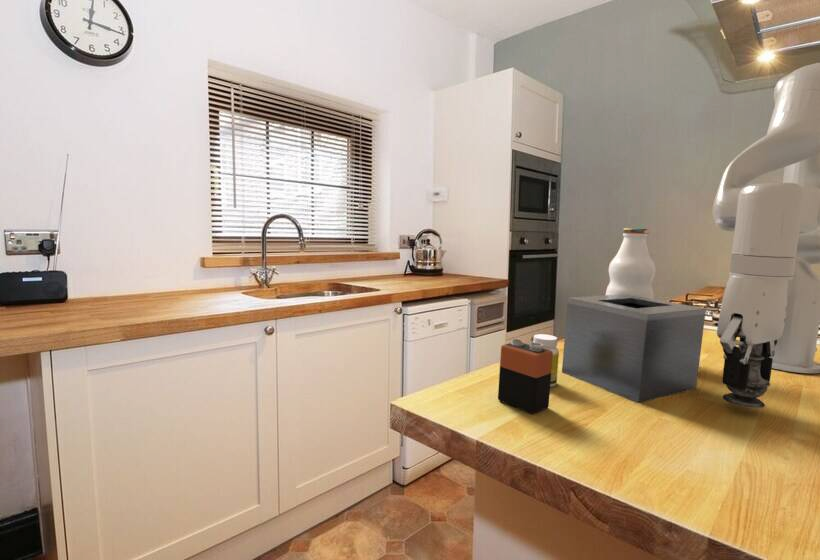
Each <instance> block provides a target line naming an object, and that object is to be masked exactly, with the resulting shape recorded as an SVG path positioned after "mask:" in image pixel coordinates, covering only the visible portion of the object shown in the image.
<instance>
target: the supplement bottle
mask: <svg viewBox="0 0 820 560" xmlns="http://www.w3.org/2000/svg"><path fill="white" fill-rule="evenodd" d="M532 342H534V343H541V344H542V345H544V349H548V350H551V351H552V352H553V357H552V369H551V382H550V388H552V387H555V386H556V385H557V383H558V382H557V381H558V369H559V367H558V366H559V355H560V353H559V349H558V348H557V346H558V337H556V336H554V335H552V334H551V335H550V334H547V333H546V334H542V333H541V334H540V333H539V334H534V335H533V341H532Z"/></svg>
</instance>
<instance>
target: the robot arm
mask: <svg viewBox="0 0 820 560" xmlns="http://www.w3.org/2000/svg"><path fill="white" fill-rule="evenodd" d="M773 101H774V108H773V111H772V114H771V118H770V120H769V121H770V122H769V124H768V125H769V126H768V128H767V133H766V135H764V136H762V137H761V138H759V139H758V140H756V141H755V142H753V143H752V144H750V145H749V146H748V147H747V148H745V149H743V150H742V151H741V153H739V154H738V155H737V156H735V158H734V159H733V160H732V161H731V162H730V163H729V164H728V166H727V167H726V169H725V170H724V172H723V174H722V176H721V179H720V181H719V184H718V188H717V191H716V195H715V197H714V201H713V205H712V220H713V223H714V224H715V226H716V227H717V228H718V229H719V230H720V229H721V230H722V231H725V232H730V233H731V232H733V233H734V234H733V240H732V250H731V255H730V264H729V272H728V275H729V276H728V277H729V278H728V280H727V282H726V285H725V288H724V292H723V296H722V301H721V307H720V309H719V311H720V312H719V318H718V323H717V330H716V335H717V337H718V338H719V343H720V345H721V347H722V350H723V353H724V354H723V359H724V364H723V371H722V379H721V382H722V384H723V385H725V386H726V385H728V386H732V387H735V388H738V389H741V390H745V389H747V386H748V378H749V371H750V364H748V363H747V362H748V359H749V356H750V353H751V349H752V346H753V345H757V344H761V343H763V347H762V354H761V355H762V356H763V357H764V359H763V360H761V367H760V374H761V377H762V378H763V379H765V380H767V381H768V382H770V383H771V374H772V370H773V369H775V370H777V371H778V370H779V371H784V372H790V373H798V374H811V375H812V374H820V362H817V361H815V356H816V352H818V347H817V344H818V343H817V342H818V338H819V337H818V336H819V330H820V275H819V274H818V272H817V271H815V270H814V269H813V267H812V265H820V62H816V63H812V64H807V65H805V66H802V67H801V66H800V67H799V68H797V69H795V70H793V71H792V72H790V73H789V74H787V75H785V76H783V77H781V79H778V81H777V82H776V84H775V87H774V91H773ZM782 168H784V171H783V172H784V173H783V178H782V182H763V183H762V182H759V183H752V184H749V183H751V182H752V181H754V180H755V179H757V178H759V177H761V176H763V175H766V174H768V173H771V172H774V171H777V170H779V169H782ZM748 184H749V185H748ZM737 338H739V339H740V338H744V339H746V340H745V341H746V342H743V341H740V340H738V339H737ZM739 346H743V347H744V348H743V351H742V352H741V350H740V348H739Z"/></svg>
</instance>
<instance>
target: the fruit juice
mask: <svg viewBox="0 0 820 560" xmlns="http://www.w3.org/2000/svg"><path fill="white" fill-rule="evenodd" d="M622 236H623V239H622V242H621V244H620V247H619V249H618V251H617V253H616V255H615V256H614V257H613V258H612V260H611V261H610V262H609V266H608V276H609V283H608V284H607V287H606V290H605V295H618V294H626V295H632V296H637V297H643V298H649V299H655V297H654V289H653V286H652V285H653V284H652V283H653V281H654V278H655V276H656V269H657V268H656V264H655V262H654V261H653V259H652V258H651V256H650V252H649V249H648V243H647V237H648V236H649V229H648V228H636V227H635V228H630V227H625V228H623V229H622Z"/></svg>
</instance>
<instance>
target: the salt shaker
mask: <svg viewBox="0 0 820 560" xmlns="http://www.w3.org/2000/svg"><path fill="white" fill-rule="evenodd" d="M745 340H746V339H744V338H740V337H739V341H743V342H746V341H745ZM738 347H739V348H740V350H741V352H742V351H743V348H744V347H743V346H739V345H738ZM762 347H763V343H761V344H757V345H753V346H752V349H751V353H750V356H749V359H748V362H747V363H748V364H750V371H749V378H748V386H747V389H745V390H741V389H738V388H735V387H732V386H728V385H725V386H726V388H727V389H728V390H729V391H730V392H728V393H725V394H723V395H722V399H723V400H724V401H726V402H727V403H729V404H733V405H735V406H739V407H742V408H748V409H763V408H765V407H766V404H765V403H764V402H763V401H762V400H761V399H760V397H762V396H764V395H765V393H766V392H767V390H768V387H770V386H771V381H770V382H768V381H767V380H765V379H763V378H762V377H761V374H760V367H761V360H763V359H764V357H763V356H762V355H761V354H762Z"/></svg>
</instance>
